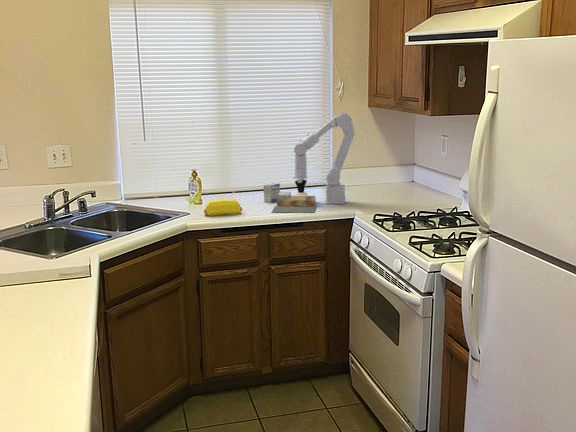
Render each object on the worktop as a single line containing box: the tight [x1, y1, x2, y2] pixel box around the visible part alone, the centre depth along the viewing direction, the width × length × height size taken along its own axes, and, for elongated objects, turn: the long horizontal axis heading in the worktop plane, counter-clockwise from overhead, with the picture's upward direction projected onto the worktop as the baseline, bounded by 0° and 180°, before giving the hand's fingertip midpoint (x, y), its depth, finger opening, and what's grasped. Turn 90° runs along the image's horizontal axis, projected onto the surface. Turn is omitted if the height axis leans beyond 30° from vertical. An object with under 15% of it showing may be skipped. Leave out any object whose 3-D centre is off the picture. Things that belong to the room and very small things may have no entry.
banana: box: [203, 199, 243, 217], centre depth 298 cm, size 18×7×8 cm
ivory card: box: [292, 191, 308, 200], centre depth 315 cm, size 6×9×2 cm, turn 174°
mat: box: [271, 205, 317, 214], centre depth 304 cm, size 20×14×1 cm
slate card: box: [278, 191, 292, 200], centre depth 318 cm, size 6×9×2 cm, turn 175°
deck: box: [276, 195, 317, 206], centre depth 317 cm, size 18×12×3 cm, turn 85°
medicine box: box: [263, 182, 281, 204], centre depth 326 cm, size 8×4×9 cm, turn 143°
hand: (301, 195), depth 321 cm, fingers closed
